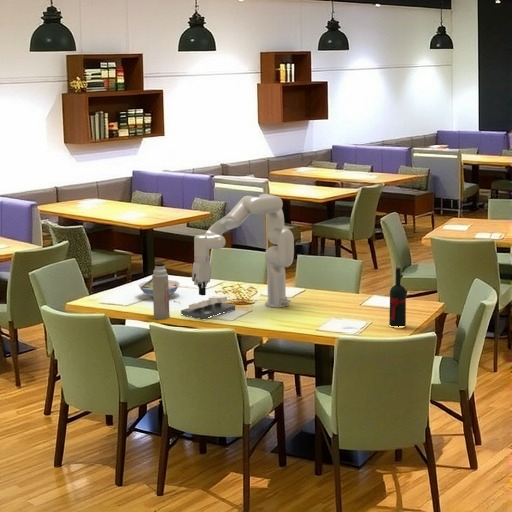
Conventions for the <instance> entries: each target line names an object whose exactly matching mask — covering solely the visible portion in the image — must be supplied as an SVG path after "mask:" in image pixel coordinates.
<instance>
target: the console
mask: <svg viewBox="0 0 512 512" xmlns="http://www.w3.org/2000/svg"><path fill="white" fill-rule="evenodd" d="M231 310H234V311H236V305H234V304H230V303H225V302H223V303H215V304H211V305H208V306H204V307H201V308H196V309H191V310H190V309H189V307H187V308H184V309H181V310H180V315H181V314H183V315H188V316H192V317H191V318H193V317H196V318H195V319H197V318H200V319H199V320H202V319H205V320H207V319H206V318H208V317H210V316H213V315H217V314H219V313H223V312H227V311H231ZM231 312H232V311H231ZM183 315H182V316H183ZM188 316H187V317H188ZM208 319H209V318H208Z"/></svg>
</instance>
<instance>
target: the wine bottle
mask: <svg viewBox="0 0 512 512" xmlns="http://www.w3.org/2000/svg"><path fill="white" fill-rule="evenodd" d="M406 313H407V290H406V288H405V287H404V286H403V285H402V284H401V265H396V266H395V285H393V286H392V287H391V288H390V290H389V317H388V319H389V320H388V321H389V323H388V325H391V326H398V327H399V326H405V325H406V326H407V323H406V321H407V320H406V318H407V317H406V315H407V314H406Z"/></svg>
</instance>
